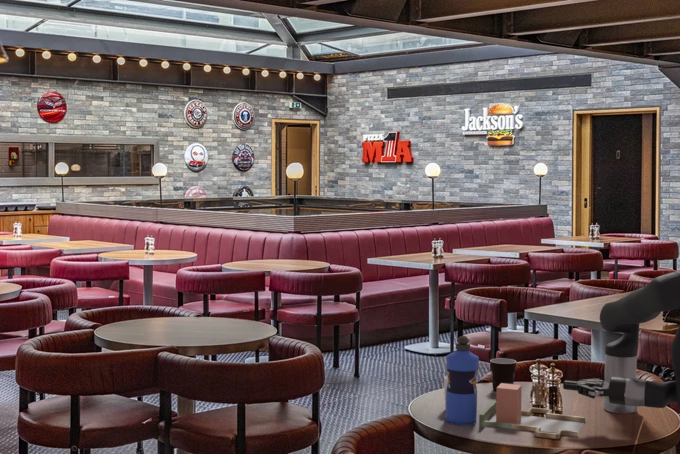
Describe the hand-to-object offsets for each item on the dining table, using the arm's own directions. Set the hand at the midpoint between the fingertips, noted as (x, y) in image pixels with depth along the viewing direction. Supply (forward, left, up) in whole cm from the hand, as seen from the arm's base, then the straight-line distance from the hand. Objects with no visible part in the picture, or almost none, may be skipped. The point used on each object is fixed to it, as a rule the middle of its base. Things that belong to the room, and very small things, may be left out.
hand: (563, 384), depth 249 cm
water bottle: (+28, -7, -13) cm, 32 cm away
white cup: (+28, -19, -13) cm, 37 cm away
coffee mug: (+10, -45, -13) cm, 48 cm away
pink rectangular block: (+15, -5, -12) cm, 19 cm away
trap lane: (+7, -2, -13) cm, 15 cm away
